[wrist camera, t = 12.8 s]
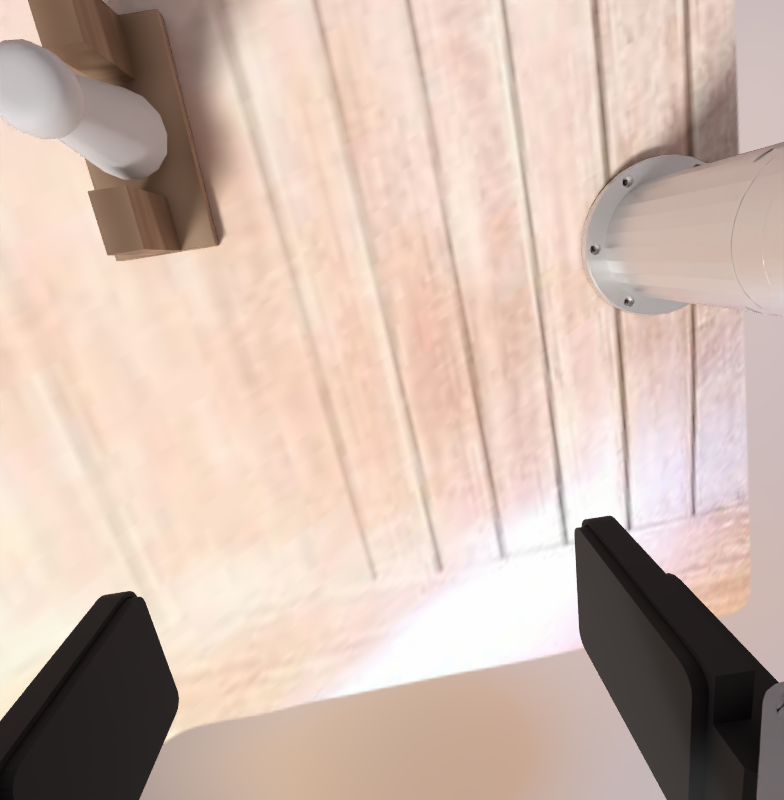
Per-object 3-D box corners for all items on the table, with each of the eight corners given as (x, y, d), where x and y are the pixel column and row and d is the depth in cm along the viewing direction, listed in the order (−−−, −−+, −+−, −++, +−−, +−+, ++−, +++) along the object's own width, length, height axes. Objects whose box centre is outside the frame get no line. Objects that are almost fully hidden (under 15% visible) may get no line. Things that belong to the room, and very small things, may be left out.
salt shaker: (171, 97, 35) (62, 10, 23) (185, 181, 37) (91, 143, 25) (91, 102, 35) (-63, 17, 23) (109, 186, 37) (-25, 150, 24)
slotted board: (162, 16, 35) (107, -48, 28) (218, 245, 39) (184, 242, 32) (53, 33, 35) (-30, -25, 28) (122, 260, 39) (67, 261, 32)
